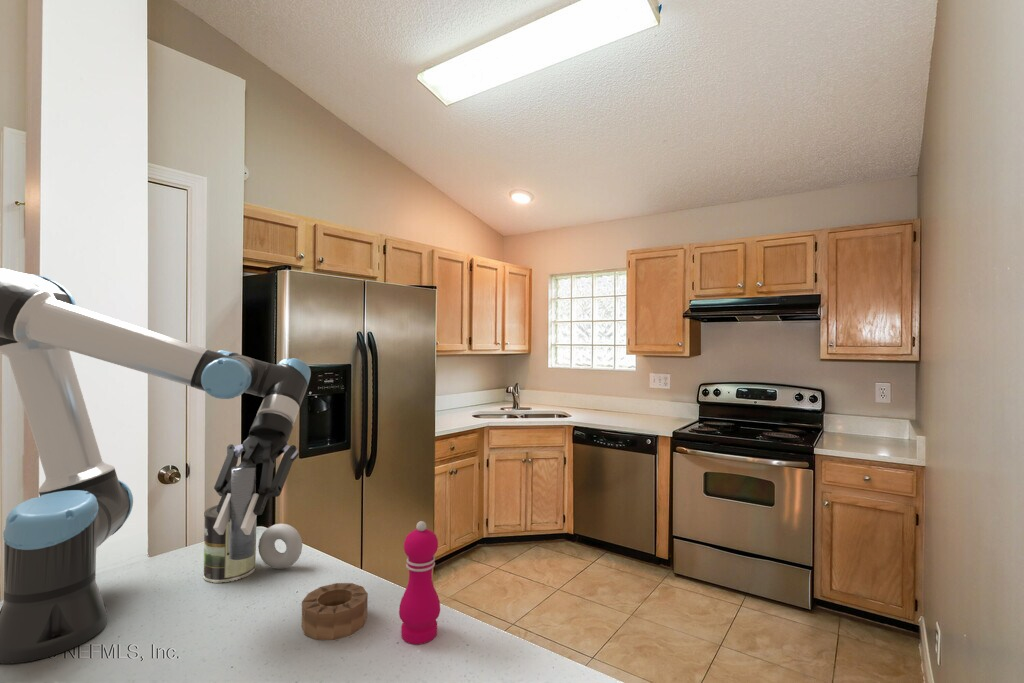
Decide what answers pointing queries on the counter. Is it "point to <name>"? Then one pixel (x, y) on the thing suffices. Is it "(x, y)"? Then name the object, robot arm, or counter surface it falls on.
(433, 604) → the pepper mill
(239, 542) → the metal cylinder peg
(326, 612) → the bead
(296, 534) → the donut
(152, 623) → the counter surface
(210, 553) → the coffee can
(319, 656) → the counter surface
